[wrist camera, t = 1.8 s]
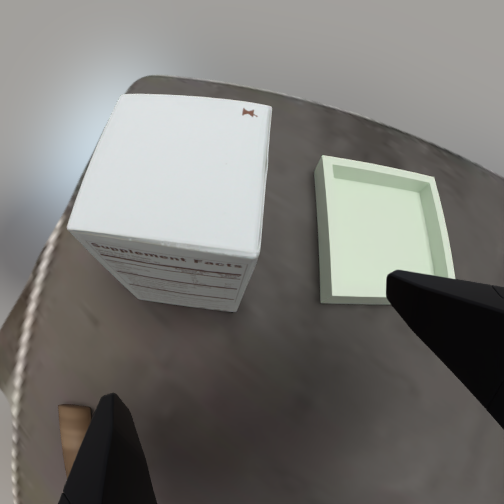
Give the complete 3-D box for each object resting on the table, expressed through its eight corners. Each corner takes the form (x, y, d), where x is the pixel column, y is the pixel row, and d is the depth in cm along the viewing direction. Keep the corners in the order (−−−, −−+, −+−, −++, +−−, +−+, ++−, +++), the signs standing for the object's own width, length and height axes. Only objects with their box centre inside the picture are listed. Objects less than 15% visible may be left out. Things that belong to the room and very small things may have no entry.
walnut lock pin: (105, 483, 16) (83, 490, 14) (82, 475, 17) (61, 480, 15) (97, 408, 18) (73, 410, 16) (75, 403, 19) (51, 404, 17)
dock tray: (440, 304, 24) (457, 297, 22) (320, 303, 23) (331, 295, 21) (421, 190, 28) (433, 177, 26) (313, 172, 27) (322, 155, 25)
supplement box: (155, 210, 24) (120, 88, 13) (248, 222, 25) (278, 102, 13) (135, 301, 22) (59, 228, 10) (237, 317, 22) (264, 257, 10)
